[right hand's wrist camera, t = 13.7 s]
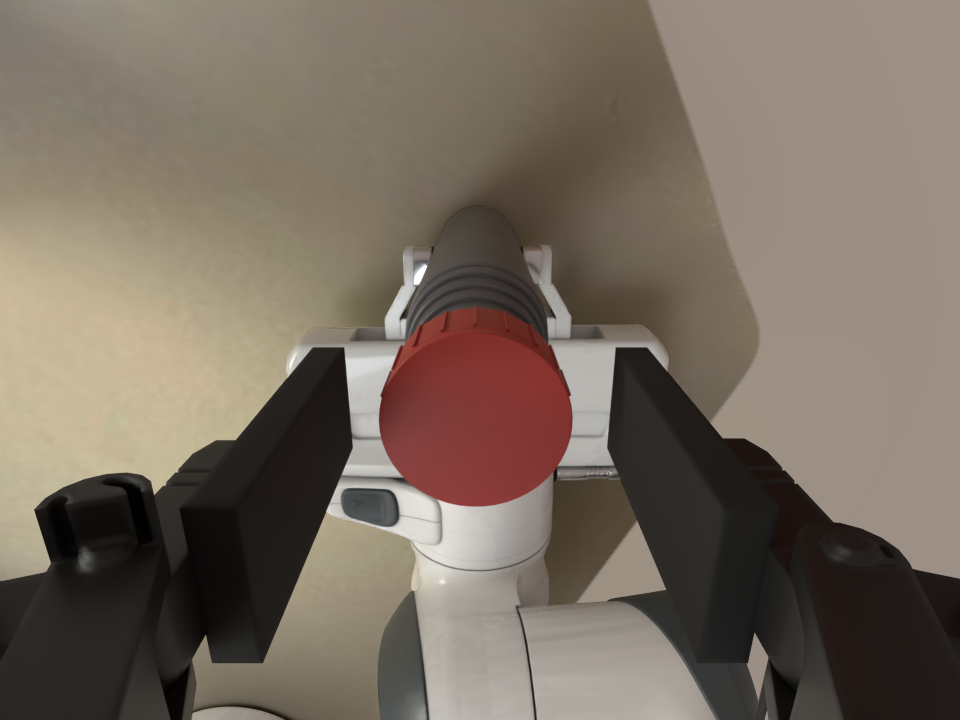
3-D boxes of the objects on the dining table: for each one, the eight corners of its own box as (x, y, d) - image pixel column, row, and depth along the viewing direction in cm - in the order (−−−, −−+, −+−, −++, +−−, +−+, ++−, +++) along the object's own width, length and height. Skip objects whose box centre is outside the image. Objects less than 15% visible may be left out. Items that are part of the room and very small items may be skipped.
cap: (358, 412, 15) (340, 451, 13) (447, 269, 14) (442, 290, 12) (499, 491, 16) (503, 538, 14) (597, 364, 14) (614, 397, 12)
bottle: (425, 255, 36) (336, 444, 13) (466, 190, 34) (441, 276, 12) (488, 295, 37) (504, 534, 14) (530, 233, 35) (620, 389, 13)
